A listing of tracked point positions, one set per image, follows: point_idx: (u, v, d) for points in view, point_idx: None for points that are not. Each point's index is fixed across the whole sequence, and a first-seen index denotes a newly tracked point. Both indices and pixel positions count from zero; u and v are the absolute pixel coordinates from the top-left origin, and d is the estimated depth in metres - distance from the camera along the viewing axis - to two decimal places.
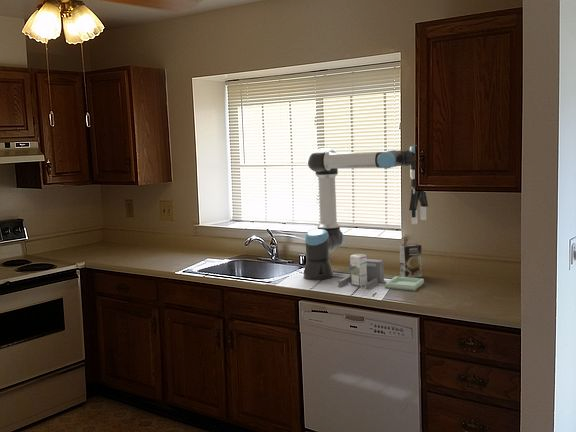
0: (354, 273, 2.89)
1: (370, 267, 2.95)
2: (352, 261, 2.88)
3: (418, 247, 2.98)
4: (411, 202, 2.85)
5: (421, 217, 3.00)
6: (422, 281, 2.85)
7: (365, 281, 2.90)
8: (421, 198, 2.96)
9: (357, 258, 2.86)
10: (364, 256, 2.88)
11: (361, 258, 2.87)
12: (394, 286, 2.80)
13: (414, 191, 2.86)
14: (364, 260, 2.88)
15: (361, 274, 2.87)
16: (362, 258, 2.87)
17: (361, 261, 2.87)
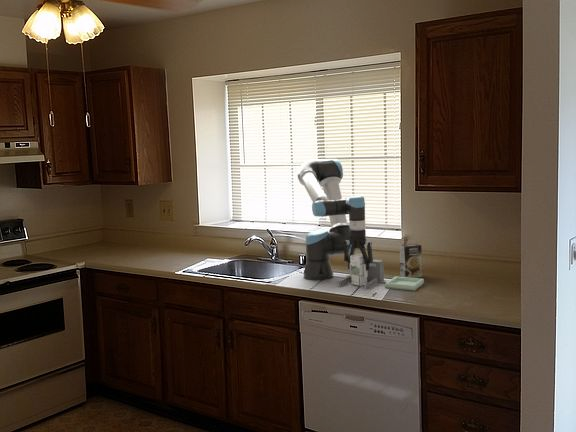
0: (354, 273, 2.89)
1: (370, 267, 2.95)
2: (352, 261, 2.88)
3: (418, 247, 2.98)
4: None
5: None
6: (422, 281, 2.85)
7: (365, 281, 2.90)
8: None
9: (357, 258, 2.86)
10: None
11: (361, 258, 2.87)
12: (394, 286, 2.80)
13: None
14: None
15: (361, 274, 2.87)
16: (362, 258, 2.87)
17: (361, 261, 2.87)
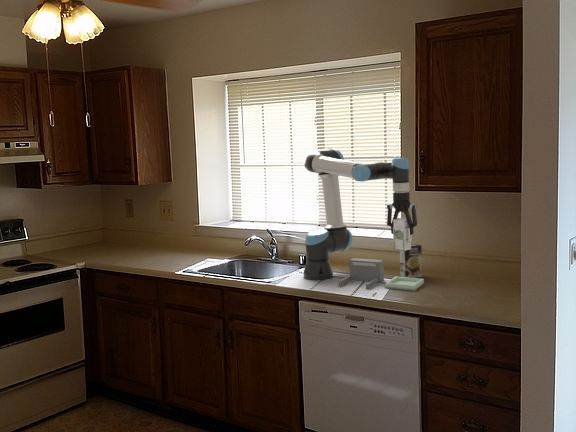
0: (397, 237, 2.80)
1: (370, 267, 2.95)
2: (395, 225, 2.80)
3: (418, 247, 2.98)
4: None
5: None
6: (422, 281, 2.85)
7: (409, 246, 2.81)
8: None
9: (401, 221, 2.77)
10: None
11: (405, 222, 2.78)
12: (394, 286, 2.80)
13: None
14: (408, 224, 2.80)
15: (405, 238, 2.79)
16: (406, 222, 2.78)
17: (405, 225, 2.78)
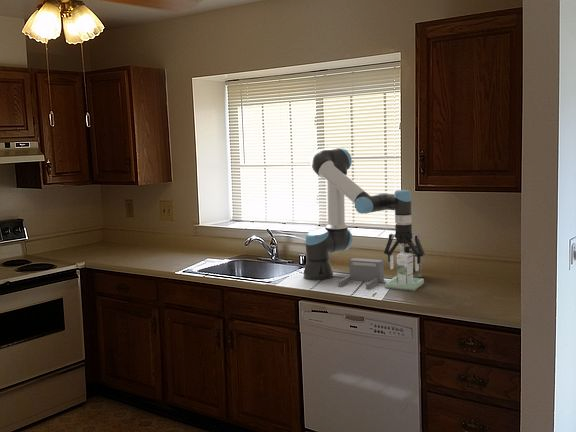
0: (400, 272, 2.82)
1: (370, 267, 2.95)
2: (399, 260, 2.82)
3: None
4: None
5: None
6: (422, 281, 2.85)
7: (411, 280, 2.84)
8: None
9: (405, 257, 2.79)
10: (411, 255, 2.82)
11: (408, 257, 2.80)
12: (394, 286, 2.80)
13: None
14: (411, 259, 2.82)
15: (408, 273, 2.81)
16: (409, 257, 2.81)
17: (408, 260, 2.80)
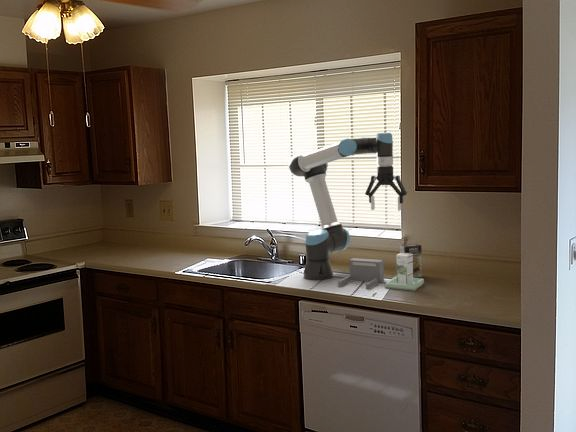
0: (400, 272, 2.82)
1: (370, 267, 2.95)
2: (399, 260, 2.82)
3: (418, 247, 2.98)
4: None
5: None
6: (422, 281, 2.85)
7: (411, 280, 2.84)
8: None
9: (404, 257, 2.79)
10: (411, 255, 2.82)
11: (408, 257, 2.80)
12: (394, 286, 2.80)
13: None
14: (411, 259, 2.82)
15: (408, 273, 2.81)
16: (409, 257, 2.81)
17: (408, 260, 2.80)
